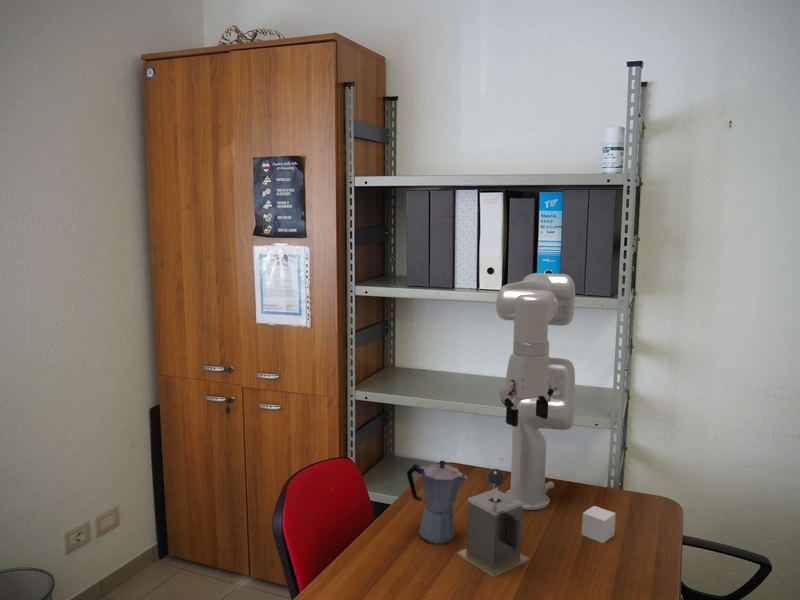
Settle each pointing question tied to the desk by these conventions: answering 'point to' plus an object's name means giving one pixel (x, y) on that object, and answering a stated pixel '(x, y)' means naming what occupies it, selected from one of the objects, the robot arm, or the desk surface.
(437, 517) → the moka pot
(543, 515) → the desk surface
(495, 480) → the ball knob lever
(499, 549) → the grey slotted box
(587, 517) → the white cube
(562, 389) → the robot arm
